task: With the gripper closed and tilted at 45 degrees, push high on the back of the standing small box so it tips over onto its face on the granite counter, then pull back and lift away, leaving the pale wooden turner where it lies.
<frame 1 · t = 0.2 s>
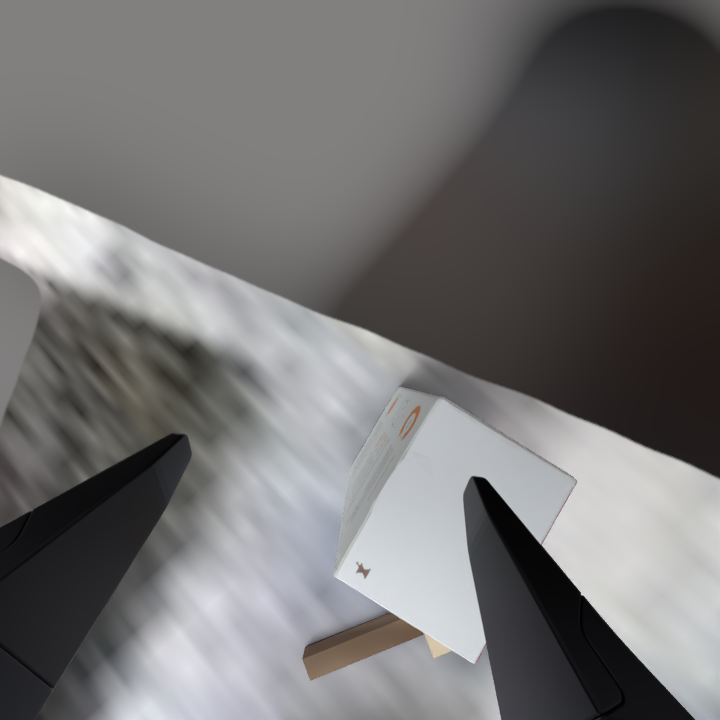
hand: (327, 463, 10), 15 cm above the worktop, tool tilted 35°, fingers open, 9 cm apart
wooden turner: (417, 613, 24), on the worktop
small box: (407, 447, 25), on the worktop
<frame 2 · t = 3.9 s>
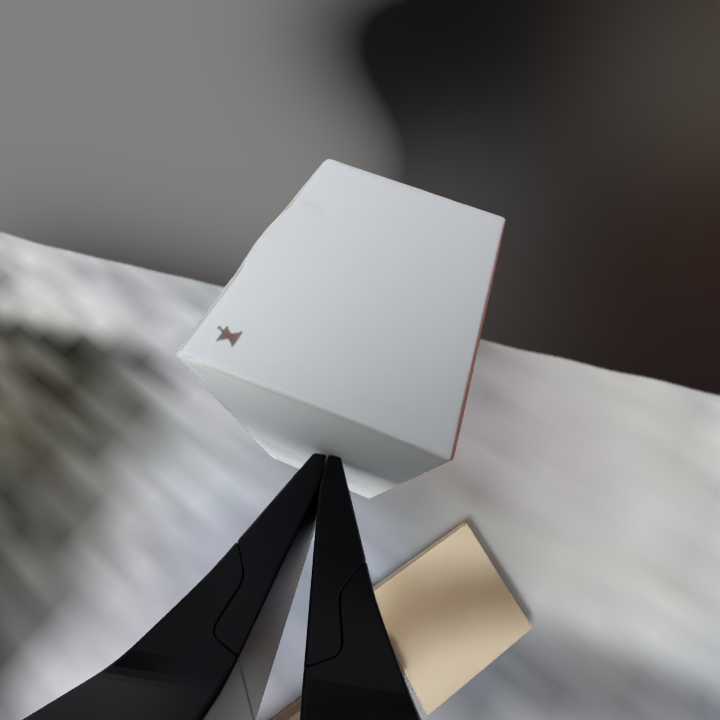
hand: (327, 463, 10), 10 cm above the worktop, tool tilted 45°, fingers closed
wooden turner: (393, 647, 17), on the worktop
small box: (345, 417, 20), point 1 cm above the worktop
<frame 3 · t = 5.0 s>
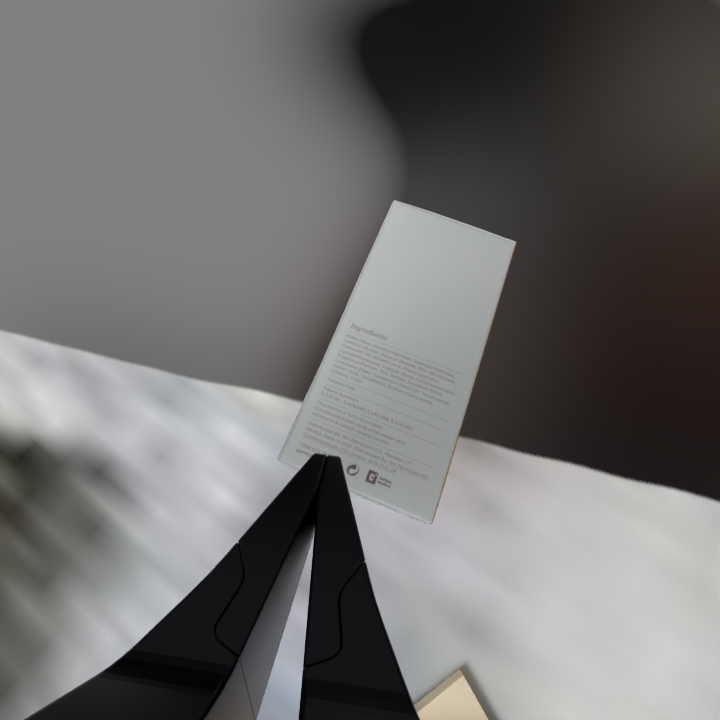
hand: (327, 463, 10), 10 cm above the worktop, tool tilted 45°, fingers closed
small box: (350, 486, 15), point 4 cm above the worktop
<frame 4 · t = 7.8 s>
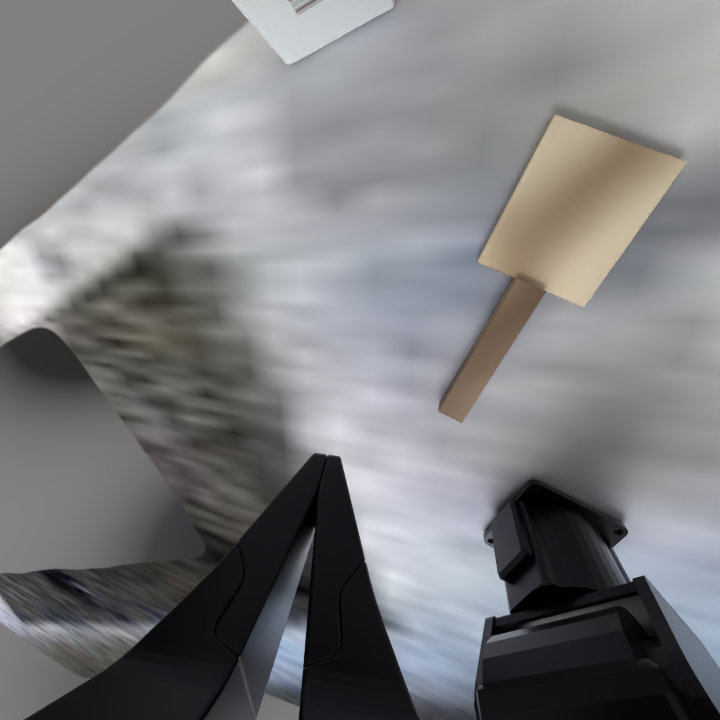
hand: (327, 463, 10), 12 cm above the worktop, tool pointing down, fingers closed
wooden turner: (527, 283, 17), on the worktop
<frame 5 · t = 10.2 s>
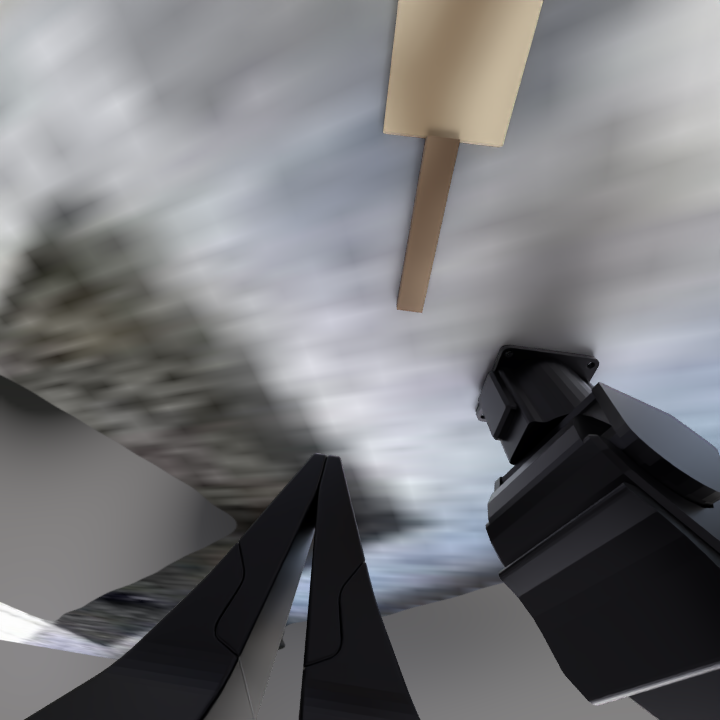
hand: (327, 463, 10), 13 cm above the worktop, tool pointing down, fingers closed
wooden turner: (440, 140, 16), on the worktop
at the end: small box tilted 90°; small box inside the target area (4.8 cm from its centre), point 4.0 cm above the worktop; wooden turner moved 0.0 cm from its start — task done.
